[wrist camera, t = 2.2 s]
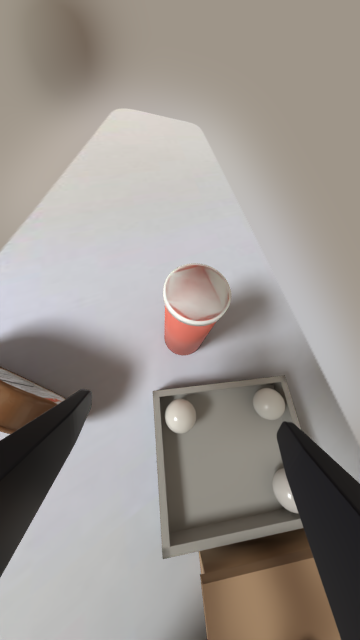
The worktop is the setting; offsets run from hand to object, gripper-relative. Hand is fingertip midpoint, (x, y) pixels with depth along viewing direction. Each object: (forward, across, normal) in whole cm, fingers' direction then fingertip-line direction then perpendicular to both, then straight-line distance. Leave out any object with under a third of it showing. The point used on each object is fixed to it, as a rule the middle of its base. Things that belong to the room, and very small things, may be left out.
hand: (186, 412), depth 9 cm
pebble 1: (+8, -1, +9) cm, 12 cm away
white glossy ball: (+10, -10, +8) cm, 16 cm away
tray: (+7, -6, +11) cm, 15 cm away
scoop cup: (+15, 0, +4) cm, 15 cm away
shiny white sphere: (+5, -11, +12) cm, 17 cm away
